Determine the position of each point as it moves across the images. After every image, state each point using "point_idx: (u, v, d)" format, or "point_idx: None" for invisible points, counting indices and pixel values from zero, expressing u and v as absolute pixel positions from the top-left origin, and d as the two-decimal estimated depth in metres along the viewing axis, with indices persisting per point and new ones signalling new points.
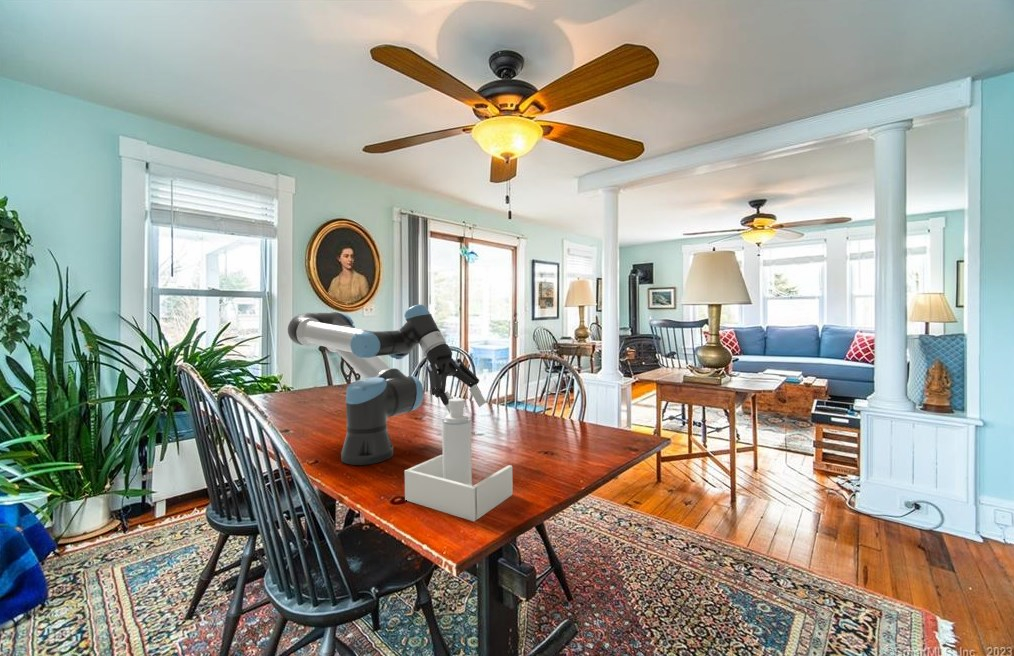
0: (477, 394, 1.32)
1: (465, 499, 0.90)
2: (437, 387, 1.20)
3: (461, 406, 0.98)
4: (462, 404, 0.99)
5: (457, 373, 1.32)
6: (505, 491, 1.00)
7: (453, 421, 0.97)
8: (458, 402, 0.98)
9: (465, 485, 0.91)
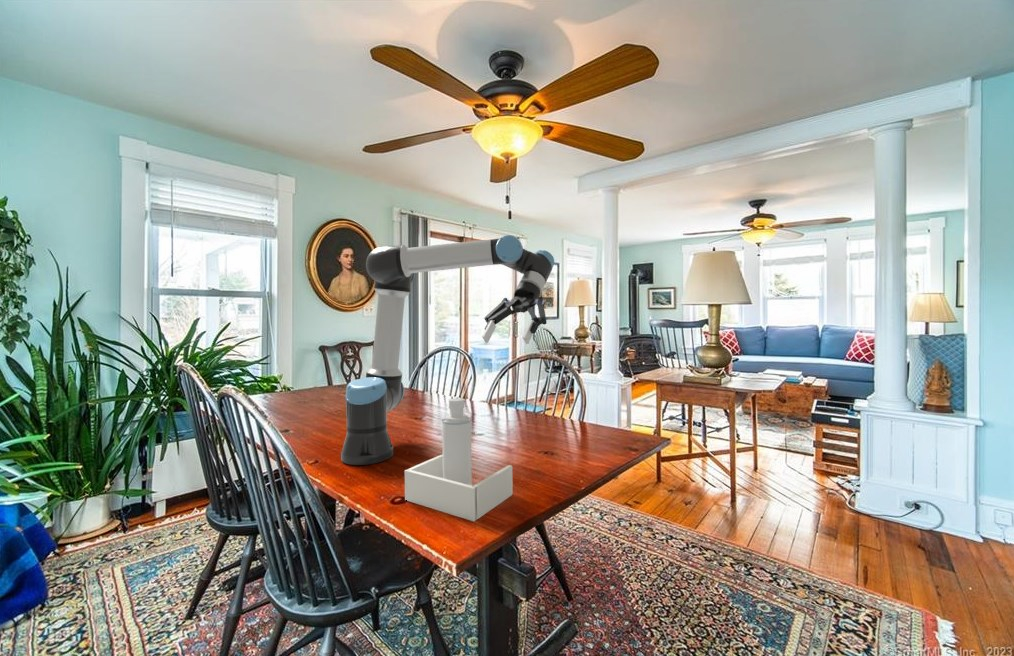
0: (491, 332, 1.27)
1: (465, 499, 0.90)
2: None
3: (461, 406, 0.98)
4: (462, 404, 0.99)
5: (510, 311, 1.29)
6: (505, 491, 1.00)
7: (453, 421, 0.97)
8: (458, 402, 0.98)
9: (465, 485, 0.91)
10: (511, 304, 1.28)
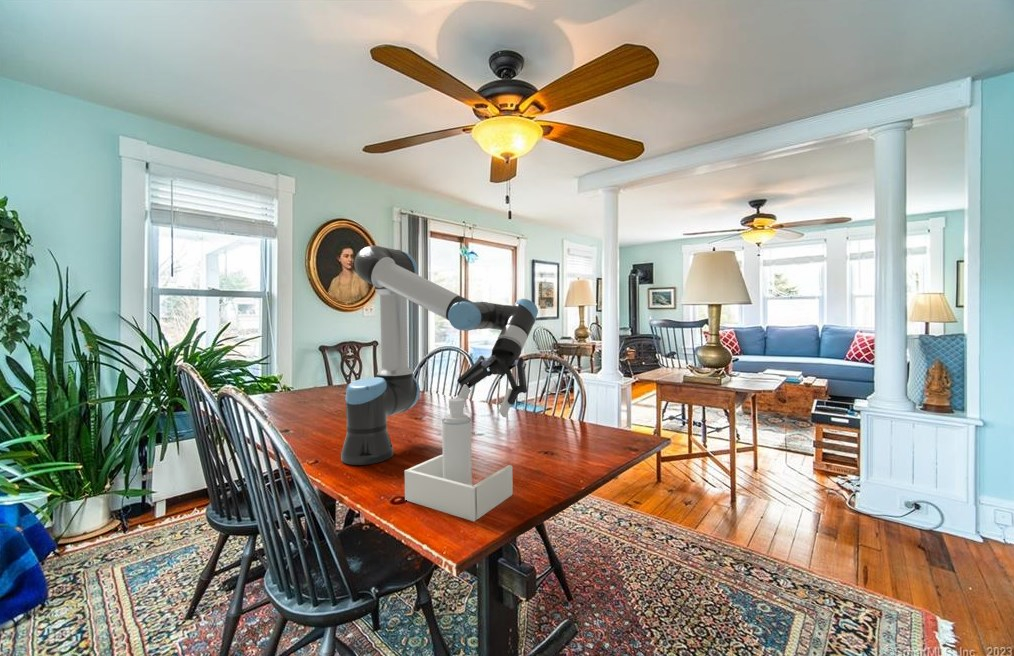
0: (464, 398, 1.11)
1: (465, 499, 0.90)
2: None
3: (461, 406, 0.98)
4: (462, 404, 0.99)
5: (487, 372, 1.14)
6: (505, 491, 1.00)
7: (453, 421, 0.97)
8: (458, 402, 0.98)
9: (465, 485, 0.91)
10: (488, 365, 1.13)
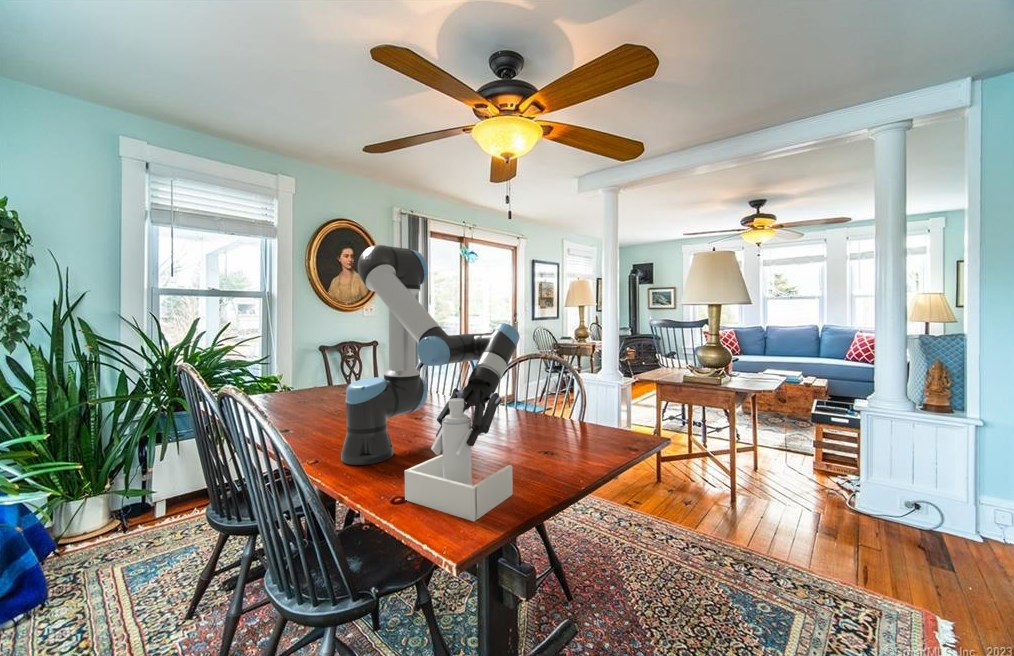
0: None
1: (465, 499, 0.90)
2: None
3: (461, 406, 0.98)
4: (462, 404, 0.99)
5: (465, 406, 1.06)
6: (505, 491, 1.00)
7: (453, 421, 0.97)
8: (458, 402, 0.98)
9: (465, 485, 0.91)
10: (465, 397, 1.05)
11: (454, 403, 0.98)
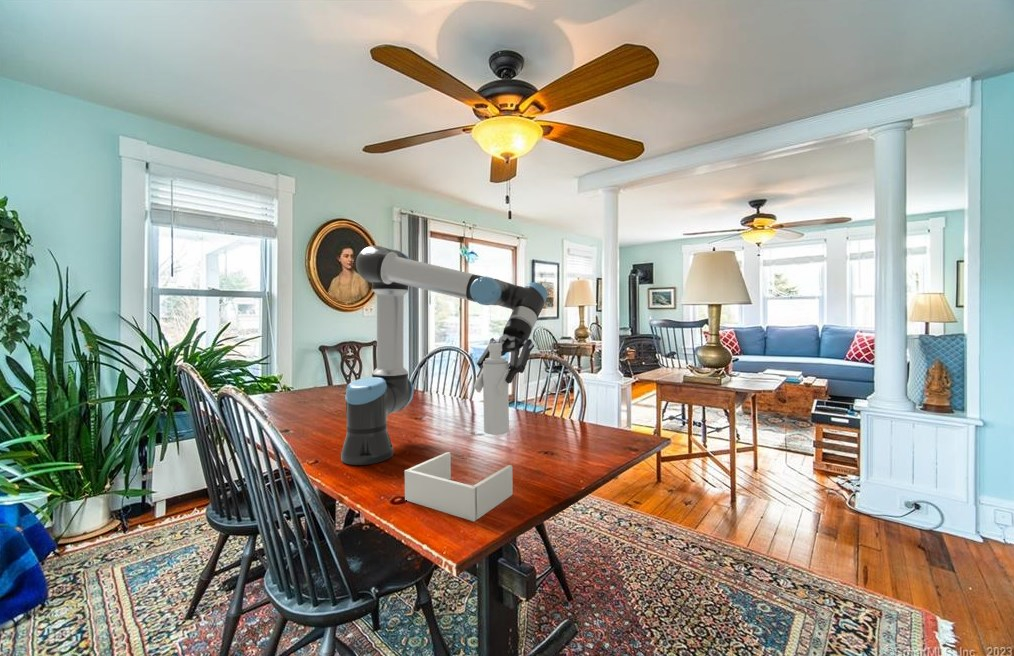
0: None
1: (465, 499, 0.90)
2: None
3: (500, 349, 1.12)
4: (500, 347, 1.12)
5: (502, 352, 1.19)
6: (505, 491, 1.00)
7: (493, 361, 1.11)
8: (497, 345, 1.12)
9: (465, 485, 0.91)
10: None
11: (494, 346, 1.11)
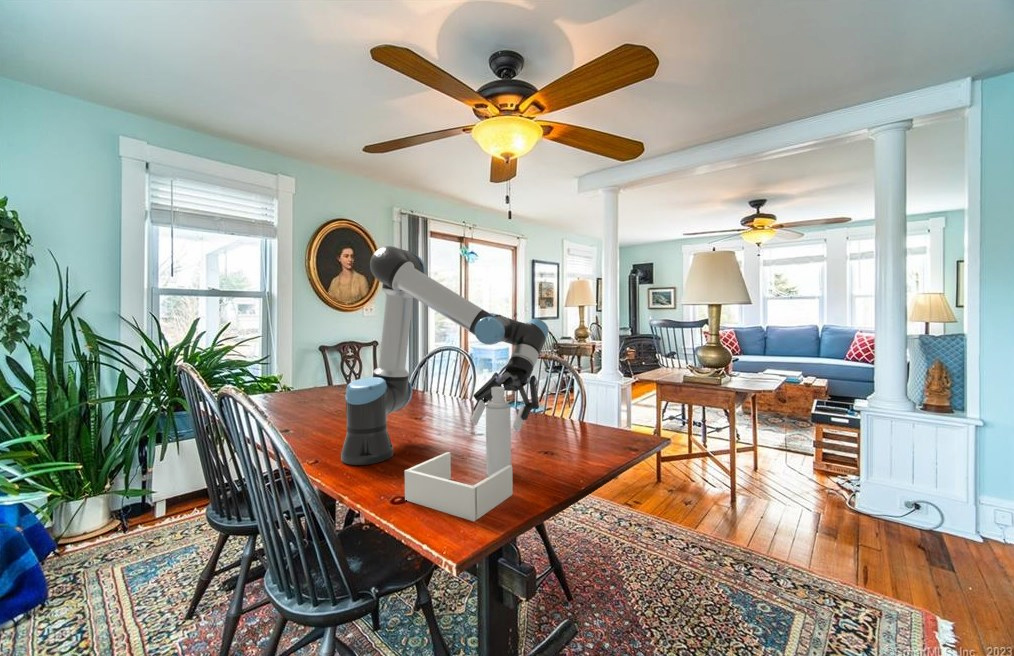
0: (480, 412, 1.19)
1: (465, 499, 0.90)
2: None
3: (502, 393, 1.14)
4: (503, 391, 1.14)
5: None
6: (505, 491, 1.00)
7: (496, 406, 1.13)
8: (500, 390, 1.13)
9: (465, 485, 0.91)
10: (502, 382, 1.21)
11: (496, 390, 1.13)
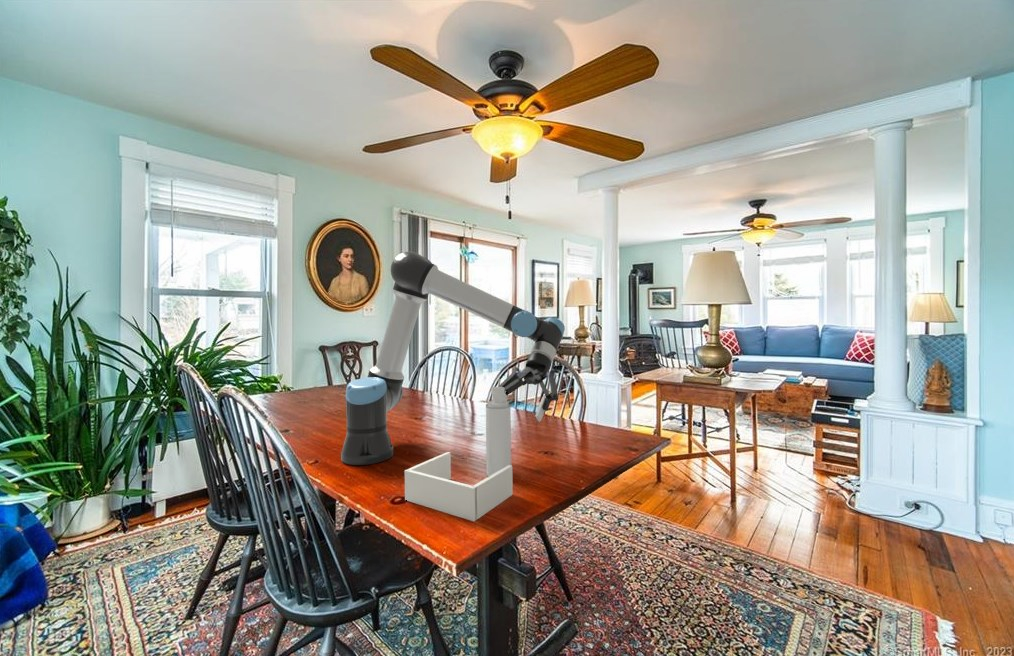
0: None
1: (465, 499, 0.90)
2: None
3: (502, 393, 1.14)
4: (503, 391, 1.14)
5: (522, 382, 1.32)
6: (505, 491, 1.00)
7: (496, 406, 1.13)
8: (500, 390, 1.13)
9: (465, 485, 0.91)
10: (523, 376, 1.31)
11: (497, 390, 1.13)
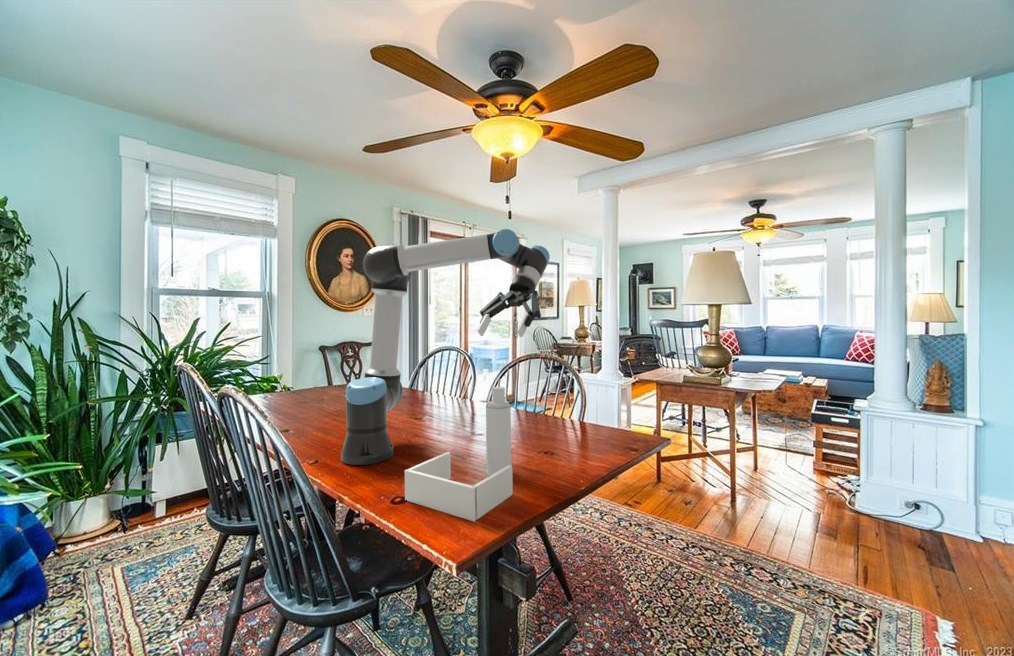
0: (486, 325, 1.28)
1: (465, 499, 0.90)
2: None
3: (503, 393, 1.14)
4: (503, 391, 1.14)
5: (505, 305, 1.31)
6: (505, 491, 1.00)
7: (496, 406, 1.13)
8: (500, 390, 1.13)
9: (465, 485, 0.91)
10: (506, 298, 1.30)
11: (497, 390, 1.13)
